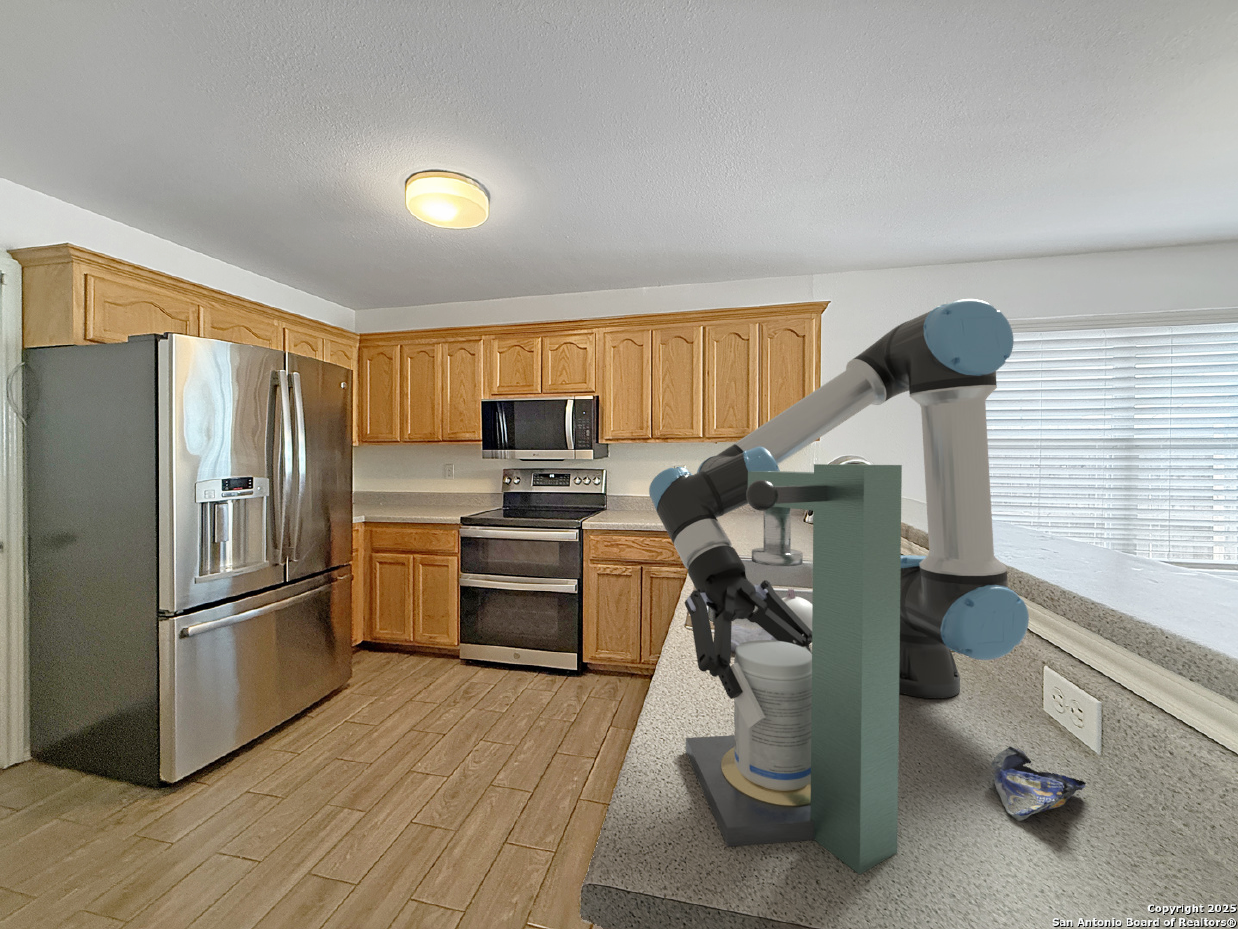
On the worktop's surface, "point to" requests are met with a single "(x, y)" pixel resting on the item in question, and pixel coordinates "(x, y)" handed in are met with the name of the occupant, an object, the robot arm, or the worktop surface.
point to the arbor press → (830, 670)
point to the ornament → (799, 608)
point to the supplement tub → (776, 715)
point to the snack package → (1030, 783)
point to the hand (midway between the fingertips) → (793, 711)
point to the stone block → (747, 635)
